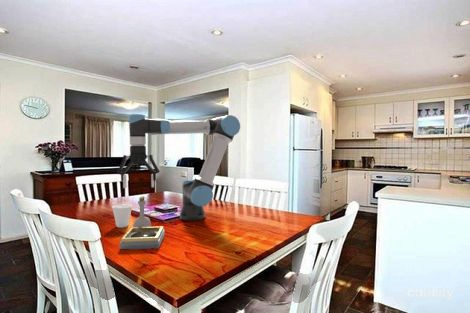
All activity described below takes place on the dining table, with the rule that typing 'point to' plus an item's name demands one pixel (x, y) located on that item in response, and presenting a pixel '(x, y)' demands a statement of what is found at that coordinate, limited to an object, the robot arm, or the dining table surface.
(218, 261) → the dining table surface
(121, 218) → the cup
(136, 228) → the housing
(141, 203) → the potion bottle
